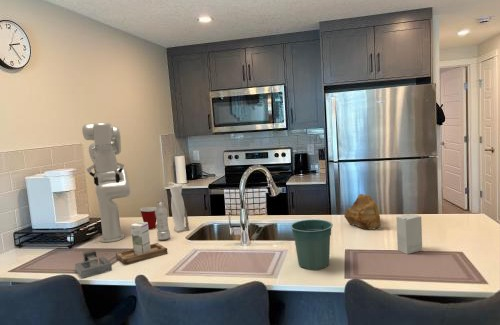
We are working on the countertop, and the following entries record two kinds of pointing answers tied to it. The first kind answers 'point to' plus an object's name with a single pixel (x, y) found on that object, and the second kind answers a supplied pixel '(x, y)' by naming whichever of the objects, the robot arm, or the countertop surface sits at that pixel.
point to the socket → (92, 268)
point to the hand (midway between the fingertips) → (107, 183)
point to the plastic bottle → (162, 221)
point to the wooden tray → (129, 256)
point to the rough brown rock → (363, 213)
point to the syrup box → (140, 238)
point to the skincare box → (409, 233)
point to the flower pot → (312, 243)
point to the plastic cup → (149, 216)
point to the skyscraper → (178, 208)
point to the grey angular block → (91, 257)
